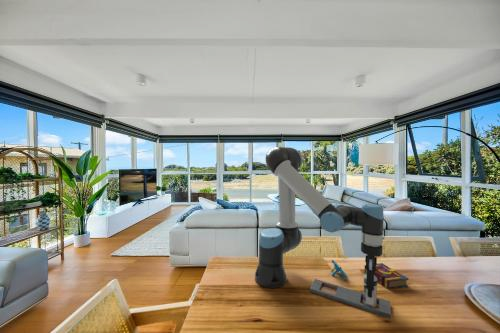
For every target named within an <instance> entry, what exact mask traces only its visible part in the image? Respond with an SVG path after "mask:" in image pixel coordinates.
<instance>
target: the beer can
mask: <svg viewBox="0 0 500 333" xmlns="http://www.w3.org/2000/svg"><path fill="white" fill-rule="evenodd" d="M366 280H367V273H364V275H363V293H364V294H363V298H362V302H363V303H362V304H365V305H368V306H371V307H375V308H377V302H376V300H377V297H378V296H377V293H378V289H377V288H378V282H377V278H376V276H375V275H374V306H372V305H369V304H366V288H365V287H364V285H365V286H366Z"/></svg>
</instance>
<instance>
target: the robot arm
mask: <svg viewBox="0 0 500 333" xmlns="http://www.w3.org/2000/svg"><path fill="white" fill-rule="evenodd" d="M302 163H303V156H302V153H301V152H300V151H299V150H298V149H296V148H294V147H293V148H292V147H288V146H287V147H284V146H274V147H272V148H270V149H269V150H268V151H267V152H266V155H265V164H266V166H267V169H269V171H271V173H272V174H273V175H274V176H275V177H278V221H276V223H275V227H271V228H265V229H263V230H262V231H260V233H259V238H258V265H257V267H256V268H255V273H254V280H255V282H256V283H257V284H258V285H259V286H261V287H263V288H267V289H268V288H269V289H277V288H280V287H283V286H284V285H285V284H287V274H286V271H285V265H284V255H285V254H286V253H288V252H290V251H291V250H294V249H296V248H297V247H298V246H299V245H301V242H302V240H303V234H302V231H301V230H300V228H299V224H298V223H297V222H296V196H298V198H299V199H300V200H301V201H302V202H303V203H305V205H306V206H307V207H308V208H309V209H310V210H311V211H312V212H313V213H314V214H315V215H316V216H317V217H318V219H320V221H319V222H320V225H321V228H322V229H323V230H324V231H326V232H327V233H336V232H340V231H341V230H343V229H344V228H346V227H347V226H349V225H352V226H357V227H361V231H360V241H361V243H360V251H361V252H362V253H363V254H365V259H364V260H365V265H366V269H367V280H366V286H365V285H364V284H363V288H364V287H365V288H366V304H369V305H372V306H374V272H375V271H376V264H378V263H377V261H378V257H381V256H382V255H383V250H384V248H383V243H384V242H383V240H385V236H383V235H384V219H385V217H384V207H383V206H381V205H380V204H374V203H363V204H362V205H361V207H356V206H355V207H354V206H350V205H344V204H332V203H331V202H330V201H329V200H328V199H327V198H326V197H325V196H324V195H323V194H322V193H321V192H320V191H319V190H318V189H316V187H315V186H314V185H313V184H312V183H310V182H309V181H308V180H307V179H306V177H304V176H303V175H302V174H301V173H300V172H299V168H301V166H302V165H303V164H302Z"/></svg>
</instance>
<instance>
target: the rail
mask: <svg viewBox="0 0 500 333" xmlns="http://www.w3.org/2000/svg"><path fill="white" fill-rule="evenodd" d="M309 292H310V293H313V294H315V295H319V296H322V297H325V298H328V299H331V300H334V301H336V302H340V303H343V304H346V305H349V306H352V307H355V308H357V309H361V310H363V311H366V312H370V313H372V314H375V315H379V316H382V317H385V318H388V319H392V307H391V301H390V300H389V299H388V300H386V299H384V298H382V297H381V298H380V297H378V296H377V300H376V304H377V303H378V308H377V307H371V306H368V305H365V304H364V303H362V299H363V294H364V292H361V291H357V290H354V289H351V288H347V287H344V286H341V285H338V284H337V285H336V284H334V283H330V282H328V281H325V280H324V281H323V280H321V279H320V280H319V279H318V278H314V280H313V282H312V284H311V285H310V287H309Z"/></svg>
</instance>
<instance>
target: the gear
mask: <svg viewBox="0 0 500 333" xmlns="http://www.w3.org/2000/svg"><path fill="white" fill-rule="evenodd" d="M330 261H331V263H332V264H333V265H334V266H333V268H332V269H331V270H330V271H331V272H332V273H331V276H332V277H334V276H335V275H336V274H338V273H341V274H342V276H344V278H345V279H348V278H349V276H348V275H347V274H346V272H344V270H343V269H342V267H341V266H339V265H338V264H337V263H336V262H335V261H334V260H333V259H331V260H330Z"/></svg>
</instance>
